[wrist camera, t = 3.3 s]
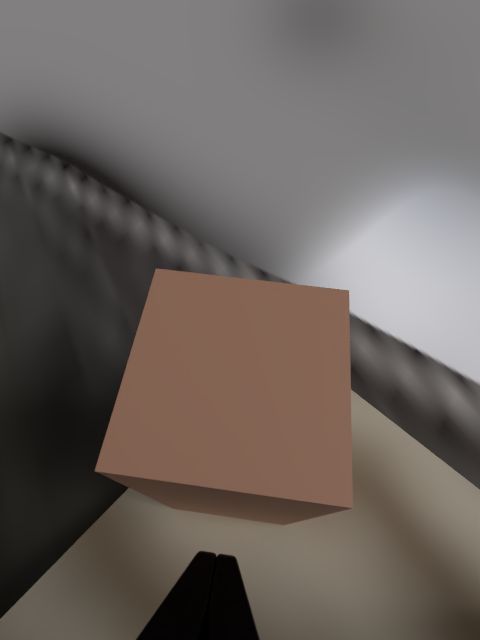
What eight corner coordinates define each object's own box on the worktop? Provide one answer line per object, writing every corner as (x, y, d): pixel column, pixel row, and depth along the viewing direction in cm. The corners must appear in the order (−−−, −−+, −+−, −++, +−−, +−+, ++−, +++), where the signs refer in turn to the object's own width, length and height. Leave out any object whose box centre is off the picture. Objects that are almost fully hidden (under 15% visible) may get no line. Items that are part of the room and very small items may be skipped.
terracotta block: (284, 525, 15) (353, 508, 6) (173, 509, 15) (94, 471, 7) (291, 414, 17) (348, 290, 9) (194, 401, 17) (156, 268, 9)
